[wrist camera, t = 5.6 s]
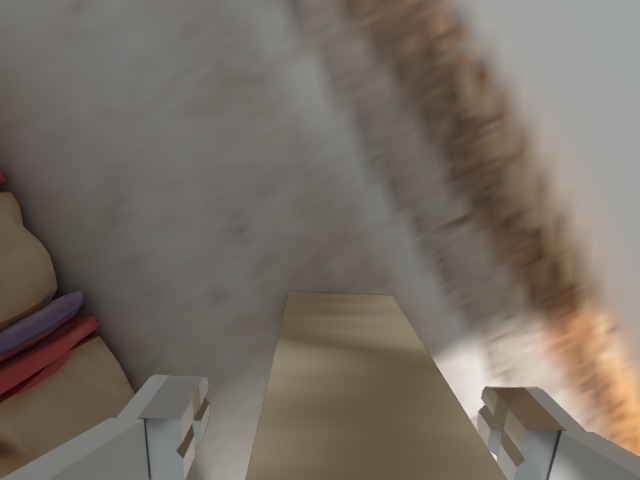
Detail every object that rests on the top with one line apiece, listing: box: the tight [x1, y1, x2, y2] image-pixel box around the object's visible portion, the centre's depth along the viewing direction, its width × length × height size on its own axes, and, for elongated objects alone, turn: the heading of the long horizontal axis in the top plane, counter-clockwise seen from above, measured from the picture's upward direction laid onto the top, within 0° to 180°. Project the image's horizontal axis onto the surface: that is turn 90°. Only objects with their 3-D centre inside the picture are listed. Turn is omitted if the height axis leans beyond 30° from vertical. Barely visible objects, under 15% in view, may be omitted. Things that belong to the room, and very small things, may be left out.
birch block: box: [245, 291, 507, 480], centre depth 8 cm, size 4×4×8 cm
